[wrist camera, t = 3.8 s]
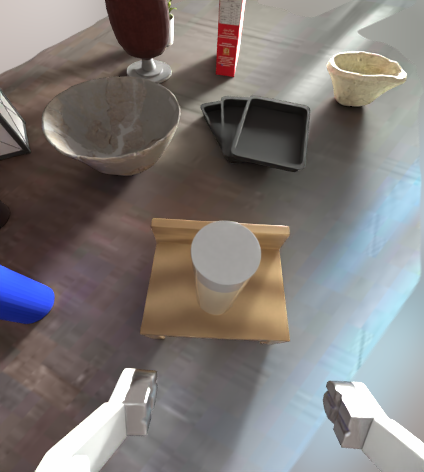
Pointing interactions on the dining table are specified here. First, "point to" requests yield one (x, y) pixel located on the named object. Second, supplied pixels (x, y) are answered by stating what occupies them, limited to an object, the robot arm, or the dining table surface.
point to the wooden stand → (184, 295)
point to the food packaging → (229, 35)
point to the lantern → (11, 130)
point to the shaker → (223, 264)
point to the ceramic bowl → (113, 123)
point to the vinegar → (3, 213)
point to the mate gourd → (142, 35)
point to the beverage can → (23, 298)
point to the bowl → (363, 77)
